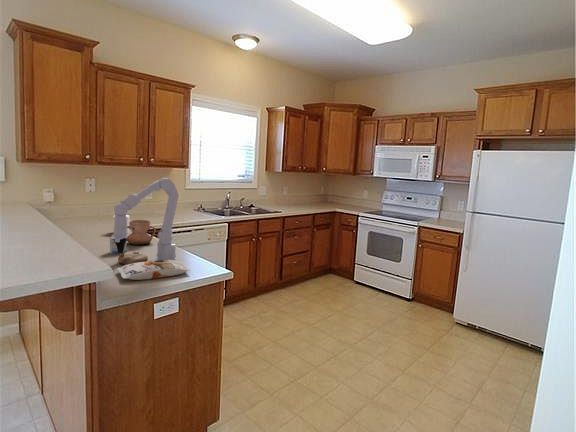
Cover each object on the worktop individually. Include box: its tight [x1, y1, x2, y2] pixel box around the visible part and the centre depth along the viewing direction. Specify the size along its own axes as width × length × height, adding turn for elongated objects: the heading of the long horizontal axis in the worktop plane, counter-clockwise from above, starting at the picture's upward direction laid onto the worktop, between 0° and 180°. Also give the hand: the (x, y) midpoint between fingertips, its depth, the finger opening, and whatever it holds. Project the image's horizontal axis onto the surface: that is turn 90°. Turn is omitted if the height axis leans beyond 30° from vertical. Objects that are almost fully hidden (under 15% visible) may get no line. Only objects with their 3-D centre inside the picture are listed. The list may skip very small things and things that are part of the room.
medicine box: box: [109, 236, 127, 255], centre depth 198 cm, size 8×4×9 cm, turn 126°
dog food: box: [117, 259, 191, 281], centre depth 168 cm, size 30×18×5 cm, turn 125°
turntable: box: [117, 251, 149, 265], centre depth 182 cm, size 14×14×6 cm
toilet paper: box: [112, 214, 131, 235], centre depth 245 cm, size 10×10×12 cm
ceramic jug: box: [126, 219, 157, 246], centre depth 220 cm, size 18×14×14 cm
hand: (120, 252), depth 181 cm, fingers closed
